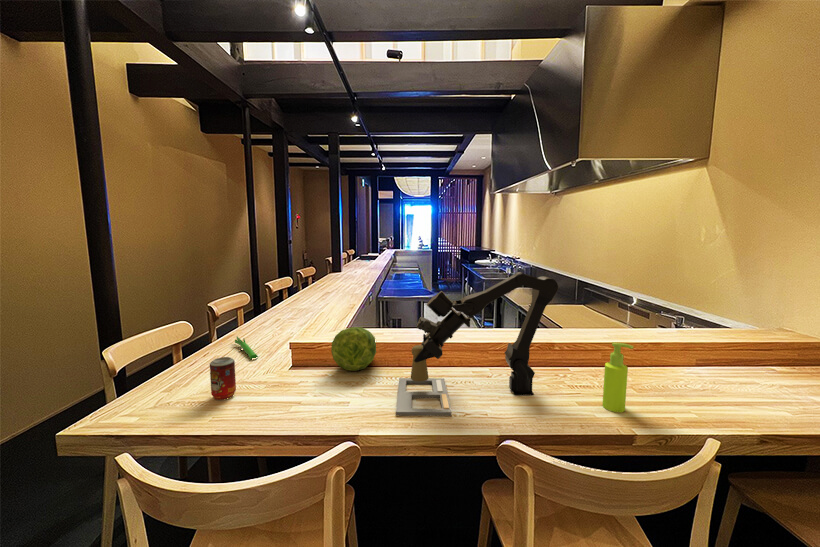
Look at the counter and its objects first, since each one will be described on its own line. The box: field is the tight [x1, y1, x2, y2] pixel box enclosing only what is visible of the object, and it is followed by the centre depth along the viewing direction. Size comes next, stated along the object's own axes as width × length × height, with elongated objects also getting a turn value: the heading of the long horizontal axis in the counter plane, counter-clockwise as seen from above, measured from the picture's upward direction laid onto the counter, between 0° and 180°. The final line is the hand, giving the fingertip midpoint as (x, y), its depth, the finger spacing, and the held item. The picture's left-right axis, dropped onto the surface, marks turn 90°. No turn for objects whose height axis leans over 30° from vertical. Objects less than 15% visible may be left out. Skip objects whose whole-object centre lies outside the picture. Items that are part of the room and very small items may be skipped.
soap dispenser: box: [601, 342, 635, 413], centre depth 104 cm, size 6×7×20 cm
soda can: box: [209, 356, 237, 401], centre depth 112 cm, size 7×7×12 cm
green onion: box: [234, 336, 259, 360], centre depth 157 cm, size 5×3×30 cm
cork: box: [410, 344, 429, 382], centre depth 117 cm, size 6×6×11 cm
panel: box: [395, 377, 452, 417], centre depth 112 cm, size 16×24×2 cm, turn 179°
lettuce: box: [330, 326, 377, 372], centre depth 140 cm, size 17×23×16 cm
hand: (415, 358), depth 117 cm, fingers closed on cork, 5 cm apart
